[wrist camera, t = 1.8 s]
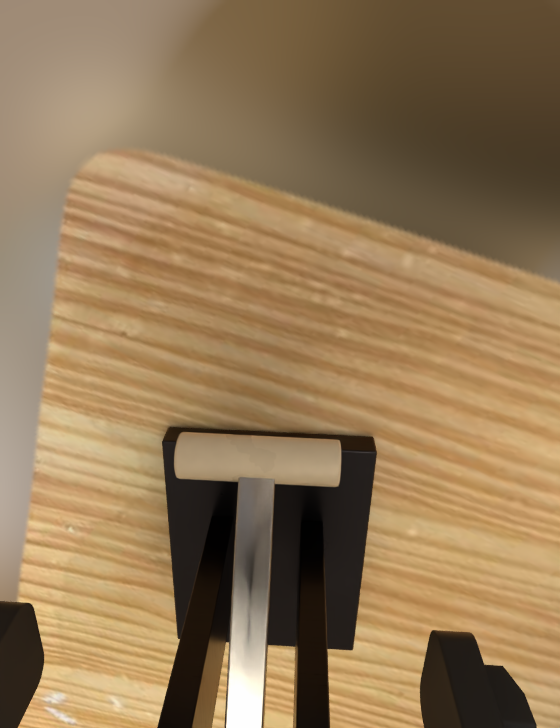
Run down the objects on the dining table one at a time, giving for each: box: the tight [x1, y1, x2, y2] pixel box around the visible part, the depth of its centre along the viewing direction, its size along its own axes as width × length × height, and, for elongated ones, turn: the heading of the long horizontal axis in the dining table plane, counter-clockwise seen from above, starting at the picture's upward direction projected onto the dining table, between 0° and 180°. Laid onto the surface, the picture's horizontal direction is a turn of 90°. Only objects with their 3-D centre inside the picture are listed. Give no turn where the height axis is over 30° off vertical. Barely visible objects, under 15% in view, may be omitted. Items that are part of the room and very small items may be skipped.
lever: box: [174, 432, 341, 728], centre depth 16 cm, size 12×5×2 cm, turn 178°
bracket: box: [157, 427, 377, 728], centre depth 19 cm, size 12×9×13 cm
